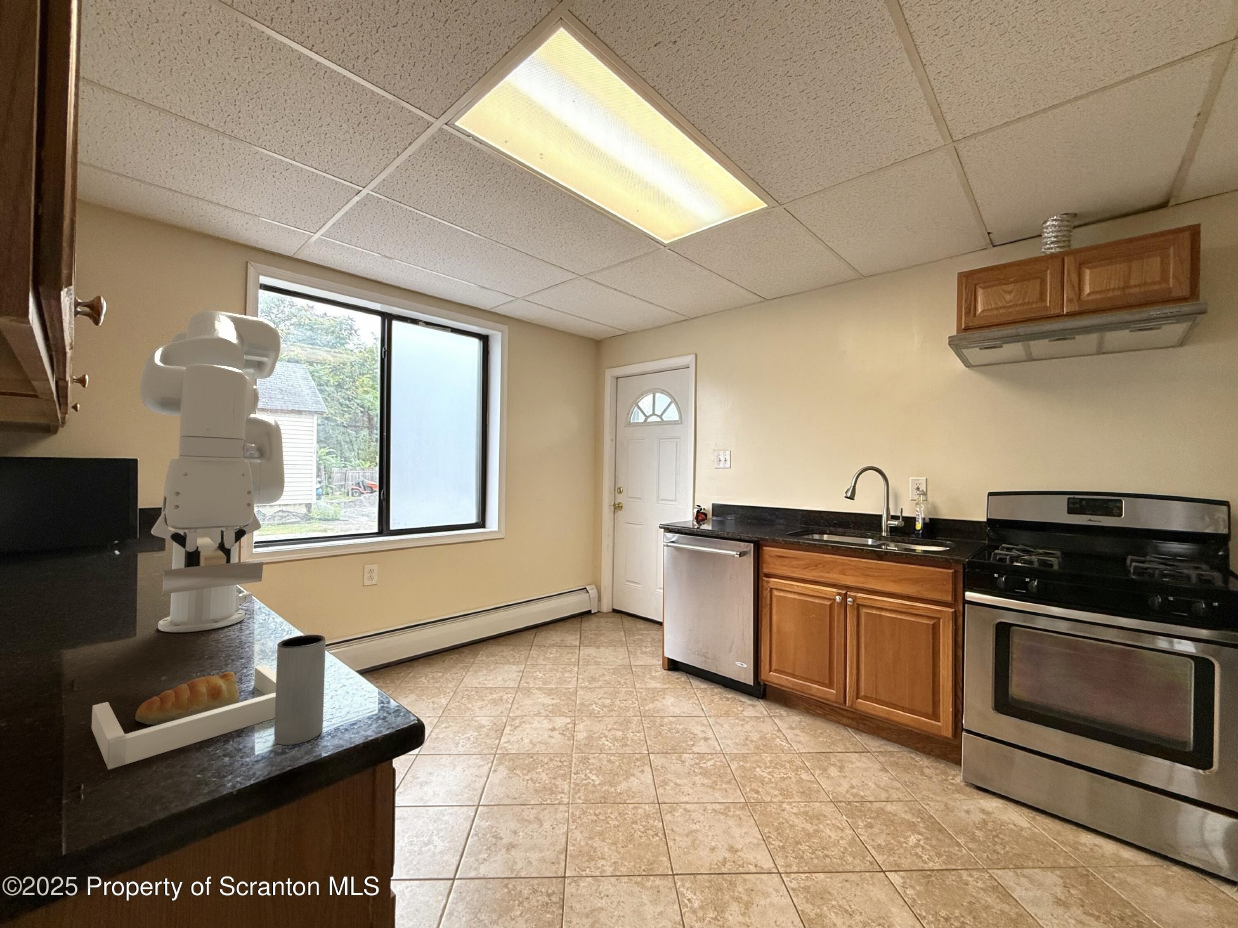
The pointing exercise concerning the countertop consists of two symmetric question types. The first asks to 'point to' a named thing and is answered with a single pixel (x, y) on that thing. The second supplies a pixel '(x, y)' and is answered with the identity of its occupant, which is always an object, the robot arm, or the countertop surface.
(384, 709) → the countertop surface
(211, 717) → the frame
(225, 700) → the pastry
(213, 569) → the dough scraper
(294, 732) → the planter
